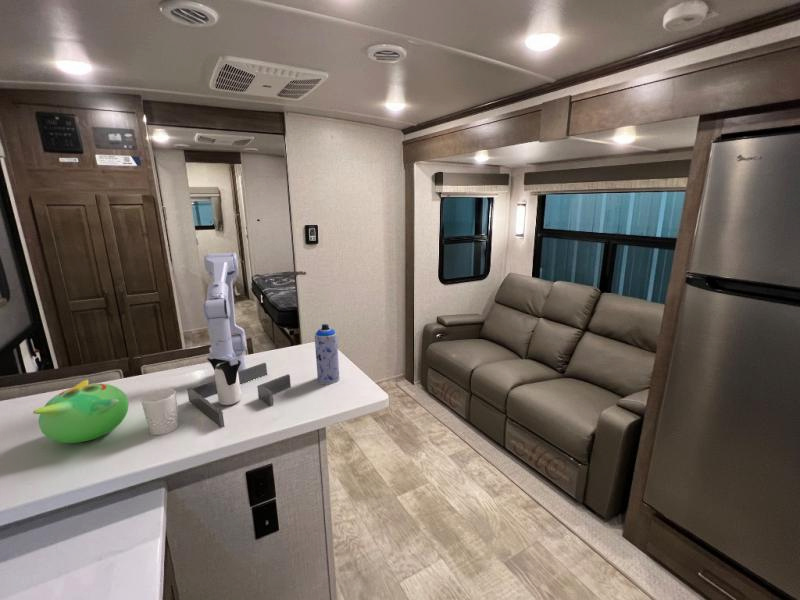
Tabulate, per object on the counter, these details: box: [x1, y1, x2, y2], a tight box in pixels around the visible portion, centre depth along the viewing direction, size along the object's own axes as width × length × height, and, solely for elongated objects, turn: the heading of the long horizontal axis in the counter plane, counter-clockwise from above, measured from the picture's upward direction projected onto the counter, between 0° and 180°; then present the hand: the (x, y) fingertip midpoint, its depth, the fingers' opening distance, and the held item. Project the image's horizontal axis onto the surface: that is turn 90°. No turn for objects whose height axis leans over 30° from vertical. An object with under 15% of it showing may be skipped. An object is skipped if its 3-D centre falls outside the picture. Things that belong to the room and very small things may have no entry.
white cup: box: [140, 388, 180, 436], centre depth 101 cm, size 8×8×10 cm
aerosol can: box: [314, 323, 341, 385], centre depth 128 cm, size 8×8×20 cm
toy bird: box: [32, 379, 129, 444], centre depth 97 cm, size 18×17×15 cm
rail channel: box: [186, 362, 292, 429], centre depth 118 cm, size 22×26×4 cm
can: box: [214, 362, 242, 406], centre depth 114 cm, size 6×6×12 cm
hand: (226, 380), depth 113 cm, fingers closed on can, 6 cm apart
